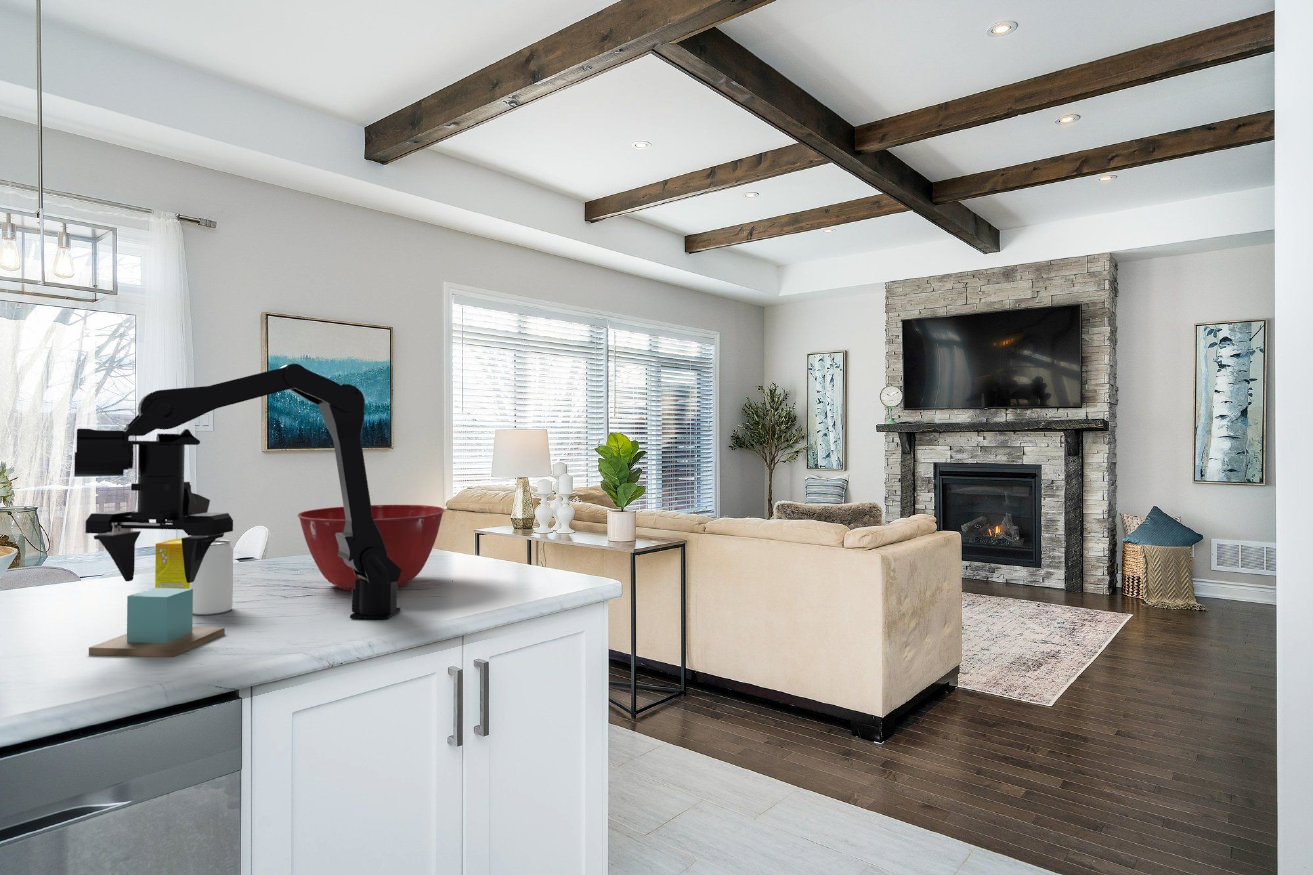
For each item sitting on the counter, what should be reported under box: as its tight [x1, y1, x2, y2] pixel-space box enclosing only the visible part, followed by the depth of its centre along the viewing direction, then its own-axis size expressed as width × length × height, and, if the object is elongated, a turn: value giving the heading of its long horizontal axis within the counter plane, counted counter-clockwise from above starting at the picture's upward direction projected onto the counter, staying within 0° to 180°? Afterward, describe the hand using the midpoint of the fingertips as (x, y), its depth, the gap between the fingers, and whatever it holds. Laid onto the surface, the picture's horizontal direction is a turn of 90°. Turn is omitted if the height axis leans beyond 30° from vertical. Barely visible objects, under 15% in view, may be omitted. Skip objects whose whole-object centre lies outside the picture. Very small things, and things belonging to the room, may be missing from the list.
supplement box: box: [154, 538, 190, 589], centre depth 140 cm, size 6×6×11 cm
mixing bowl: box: [296, 504, 445, 592], centre depth 156 cm, size 28×28×16 cm
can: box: [190, 539, 234, 616], centre depth 132 cm, size 6×6×12 cm
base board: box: [88, 626, 226, 658], centre depth 111 cm, size 12×12×1 cm
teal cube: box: [126, 587, 194, 643], centre depth 111 cm, size 6×6×7 cm
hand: (159, 581), depth 111 cm, fingers open, 9 cm apart
